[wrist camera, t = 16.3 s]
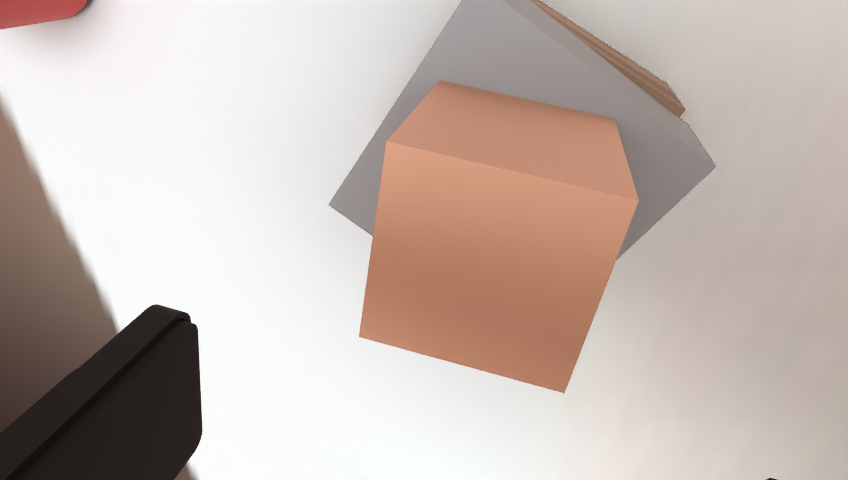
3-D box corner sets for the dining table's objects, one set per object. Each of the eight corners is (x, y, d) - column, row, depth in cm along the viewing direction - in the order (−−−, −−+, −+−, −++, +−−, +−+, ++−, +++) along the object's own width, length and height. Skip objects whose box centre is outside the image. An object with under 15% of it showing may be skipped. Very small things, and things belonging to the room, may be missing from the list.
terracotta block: (614, 118, 19) (639, 200, 13) (563, 268, 22) (564, 393, 16) (440, 79, 20) (386, 141, 14) (413, 230, 23) (358, 336, 17)
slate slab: (492, -29, 22) (476, -21, 18) (688, 124, 23) (716, 166, 19) (365, 162, 27) (328, 204, 23) (531, 281, 28) (526, 343, 24)
